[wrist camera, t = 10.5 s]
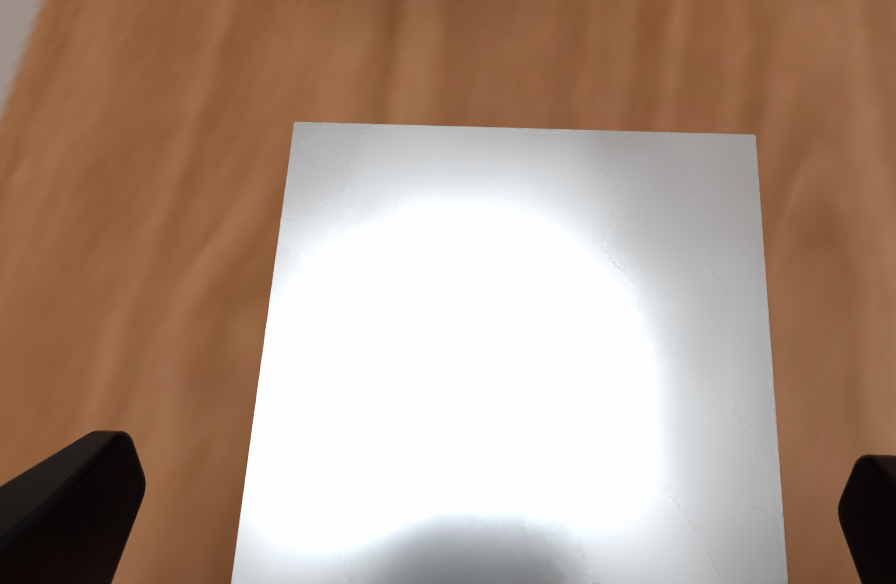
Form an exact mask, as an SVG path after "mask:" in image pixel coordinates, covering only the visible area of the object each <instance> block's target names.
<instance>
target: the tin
mask: <svg viewBox="0 0 896 584" xmlns="http://www.w3.org/2000/svg"><path fill="white" fill-rule="evenodd" d="M231 584H788V577H787V564H786V550H785V536H784V522H783V508H782V495H781V481H780V467H779V453H778V439H777V426H776V412H775V398H774V384H773V370H772V357H771V343H770V329H769V315H768V301H767V288H766V274H765V260H764V246H763V233H762V219H761V205H760V191H759V177H758V164H757V150H756V136H755V135H743V134H708V133H672V132H636V131H600V130H565V129H529V128H493V127H457V126H421V125H386V124H350V123H314V122H294V129H293V136H292V143H291V151H290V158H289V165H288V173H287V180H286V187H285V194H284V202H283V209H282V216H281V224H280V231H279V238H278V246H277V253H276V260H275V268H274V275H273V282H272V289H271V297H270V304H269V311H268V319H267V326H266V333H265V341H264V348H263V355H262V362H261V370H260V377H259V384H258V392H257V399H256V406H255V414H254V421H253V428H252V435H251V443H250V450H249V457H248V465H247V472H246V479H245V487H244V494H243V501H242V509H241V516H240V523H239V530H238V538H237V545H236V552H235V560H234V567H233V574H232V582H231Z"/></svg>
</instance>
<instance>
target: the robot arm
mask: <svg viewBox="0 0 896 584" xmlns="http://www.w3.org/2000/svg"><path fill="white" fill-rule="evenodd" d="M145 486H146V482H145V475H144V472H143V469H142V467H141V464H140V461H139V458H138V455H137V452H136V449H135V446H134V443H133V440H132V438H131V436H130V435H129V434H128V433H126V432H123V431H103V430H99V431H93V432H91V433H89V434H87V435H85V436H83V437H82V438H80V439H78V440H77V441H75V442H73V443H72V444H70V445H68V446H67V447H65V448H63V449H62V450H60V451H58V452H57V453H55V454H53V455H52V456H50V457H48V458H47V459H45V460H43V461H42V462H40V463H38V464H37V465H35V466H33V467H32V468H30V469H28V470H27V471H25V472H23V473H22V474H20V475H18V476H17V477H15V478H13V479H12V480H10V481H8V482H7V483H5V484H3V485H2V486H0V584H111V583H112V580H113V577H114V575H115V572H116V569H117V567H118V564H119V561H120V559H121V556H122V553H123V551H124V548H125V545H126V543H127V540H128V537H129V535H130V532H131V529H132V527H133V524H134V521H135V519H136V516H137V513H138V511H139V508H140V505H141V503H142V500H143V497H144V493H145ZM838 515H839V521H840V524H841V527H842V530H843V533H844V536H845V538H846V541H847V544H848V547H849V550H850V553H851V555H852V558H853V561H854V564H855V567H856V569H857V572H858V575H859V578H860V581H861V583H862V584H896V456H894V455H863V456H861V457H860V458H859V459H858V460H857V461H856V462H855V464H854V467H853V469H852V472H851V474H850V476H849V479H848V481H847V484H846V486H845V489H844V491H843V493H842V496H841V498H840V501H839V506H838Z"/></svg>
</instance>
